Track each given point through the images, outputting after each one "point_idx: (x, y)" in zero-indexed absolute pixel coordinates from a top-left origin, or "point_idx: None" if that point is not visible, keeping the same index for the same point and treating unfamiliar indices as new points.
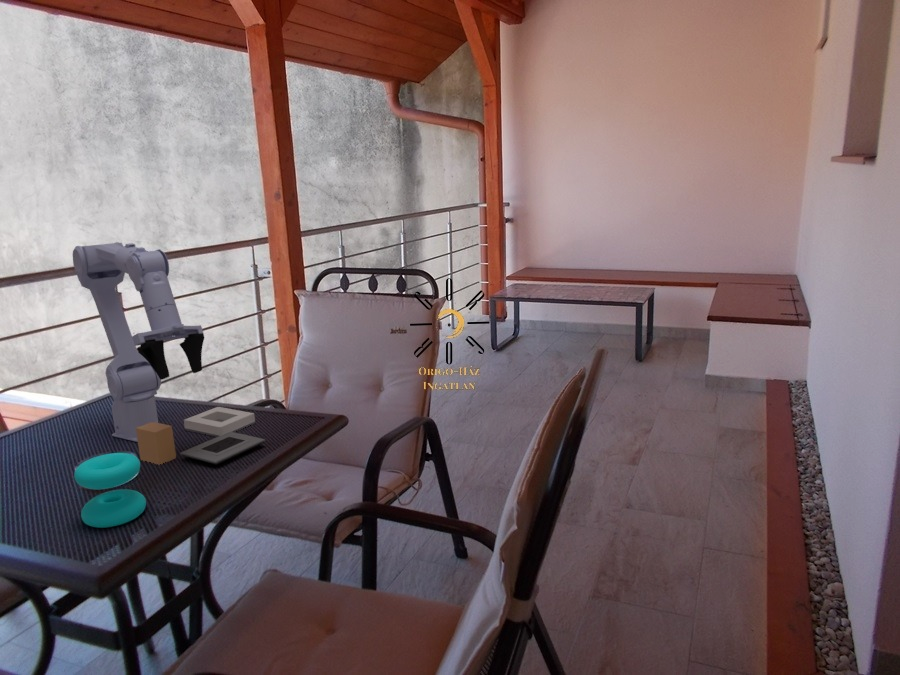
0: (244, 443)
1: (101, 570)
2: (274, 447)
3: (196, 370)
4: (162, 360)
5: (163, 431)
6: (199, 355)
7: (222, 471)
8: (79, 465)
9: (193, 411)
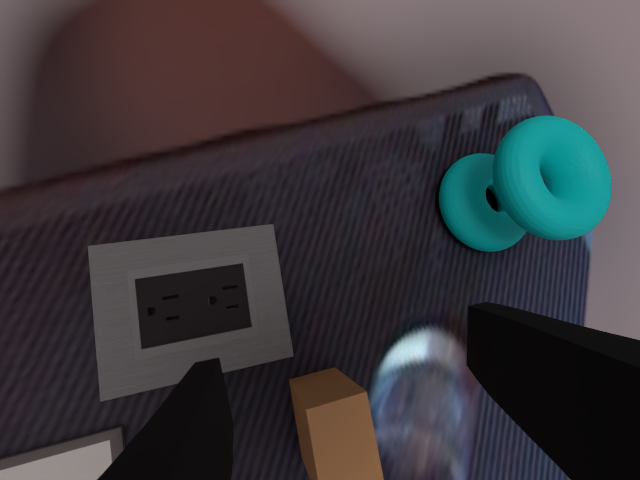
0: (148, 267)
1: (527, 83)
2: (88, 223)
3: (223, 394)
4: (613, 339)
5: (336, 397)
6: (153, 443)
7: (268, 208)
8: (606, 208)
9: None
